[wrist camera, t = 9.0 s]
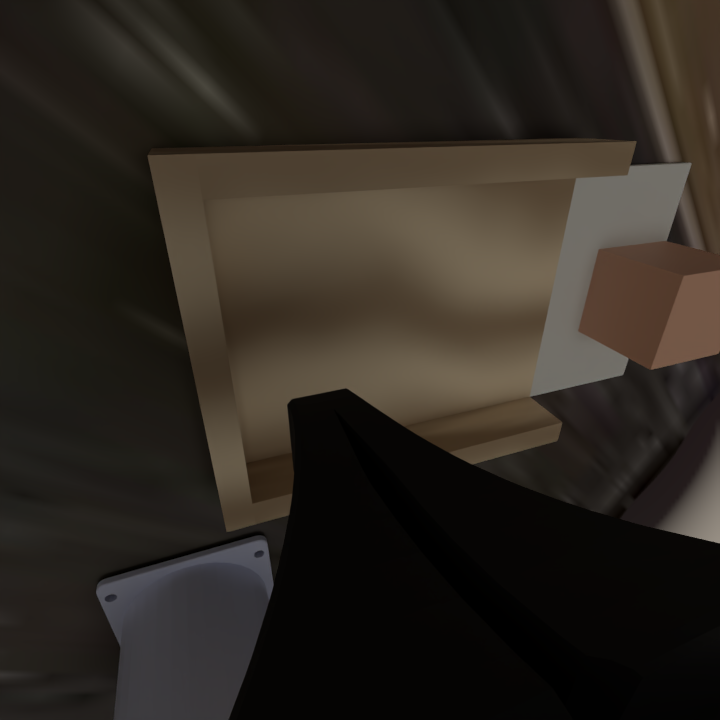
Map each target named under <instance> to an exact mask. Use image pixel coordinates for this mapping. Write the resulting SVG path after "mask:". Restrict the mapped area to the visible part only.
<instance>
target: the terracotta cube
mask: <svg viewBox="0 0 720 720" xmlns="http://www.w3.org/2000/svg"><path fill="white" fill-rule="evenodd" d="M578 331H579V332H580V333H582V334H584V335H586V336H588V337H590V338H592V339H594V340H595V341H597V342H599V343H601V344H603V345H605V346H607V347H609V348H610V349H612V350H614V351H616V352H618V353H620V354H622V355H624V356H625V357H627V358H629V359H631V360H633V361H635V362H637V363H639V364H640V365H642V366H644V367H646V368H648V369H650V370H652V369H656V368H660V367H665V366H669V365H673V364H677V363H681V362H686V361H690V360H694V359H698V358H702V357H707V356H711V355H715V354H718V353H719V351H720V255H718V254H714V253H710V252H706V251H702V250H698V249H695V248H691V247H687V246H683V245H679V244H675V243H671V242H667V241H661V242H653V243H645V244H637V245H628V246H620V247H612V248H604V249H599V250H598V254H597V258H596V262H595V266H594V270H593V274H592V278H591V282H590V286H589V290H588V294H587V298H586V302H585V306H584V310H583V314H582V318H581V321H580V325H579V329H578Z"/></svg>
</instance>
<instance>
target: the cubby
mask: <svg viewBox="0 0 720 720" xmlns="http://www.w3.org/2000/svg"><path fill="white" fill-rule="evenodd" d="M636 142H637V141H622V140H604V139H587V138H557V139H516V140H474V141H433V142H392V143H351V144H309V145H268V146H227V147H186V148H152V149H151V150H150V152H149V154H148V160H149V165H150V170H151V175H152V179H153V184H154V189H155V194H156V198H157V203H158V208H159V213H160V217H161V222H162V227H163V232H164V236H165V241H166V246H167V251H168V255H169V260H170V265H171V270H172V274H173V279H174V284H175V289H176V293H177V298H178V303H179V308H180V312H181V317H182V322H183V327H184V331H185V336H186V341H187V346H188V350H189V355H190V360H191V365H192V369H193V374H194V379H195V384H196V388H197V393H198V398H199V403H200V407H201V412H202V417H203V422H204V426H205V431H206V436H207V441H208V445H209V450H210V455H211V460H212V464H213V469H214V474H215V479H216V483H217V488H218V493H219V498H220V503H221V507H222V512H223V517H224V522H225V526H226V531H227V532H230V531H233V530H237V529H240V528H244V527H248V526H251V525H255V524H258V523H262V522H266V521H269V520H273V519H277V518H280V517H284V516H287V515H289V513H290V506H291V500H292V491H293V480H294V470H293V460H292V450H291V440H290V429H289V419H288V409H287V404H288V403H289V402H290V401H291V400H292V399H294V398H299V397H305V396H310V395H315V394H320V393H325V392H330V391H335V390H340V389H345V388H347V389H348V390H350V391H352V392H353V393H355V394H356V395H358V396H359V397H360V398H362V399H363V400H365V401H366V402H368V403H369V404H371V405H372V406H374V407H375V408H377V409H378V410H380V411H381V412H383V413H384V414H386V415H387V416H389V417H390V418H392V419H393V420H395V421H396V422H398V423H399V424H401V425H402V426H404V427H406V428H407V429H409V430H410V431H412V432H414V433H415V434H417V435H419V436H420V437H422V438H424V439H425V440H427V441H429V442H431V443H432V444H434V445H436V446H438V447H440V448H442V449H443V450H445V451H447V452H449V453H451V454H452V455H454V456H456V457H458V458H460V459H462V460H464V461H466V462H468V463H470V464H475V463H479V462H482V461H486V460H490V459H493V458H497V457H501V456H504V455H508V454H511V453H515V452H519V451H522V450H526V449H529V448H533V447H537V446H540V445H544V444H547V443H551V442H555V441H558V437H559V433H560V430H561V426H562V422H561V421H560V420H559V419H557V418H556V417H555V416H553V415H552V414H551V413H550V412H548V411H547V410H546V409H545V408H543V407H542V406H541V405H539V404H538V403H537V402H536V401H534V400H533V399H532V398H531V397H530V393H531V388H532V383H533V378H534V374H535V369H536V364H537V360H538V355H539V350H540V346H541V341H542V336H543V332H544V327H545V322H546V318H547V313H548V308H549V304H550V299H551V294H552V289H553V285H554V280H555V275H556V271H557V266H558V261H559V257H560V252H561V247H562V243H563V238H564V233H565V229H566V224H567V219H568V214H569V210H570V205H571V200H572V196H573V191H574V186H575V182H576V178H590V177H607V176H624V175H628V172H629V168H630V164H631V161H632V157H633V153H634V149H635V145H636Z"/></svg>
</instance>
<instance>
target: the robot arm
mask: <svg viewBox="0 0 720 720" xmlns="http://www.w3.org/2000/svg"><path fill="white" fill-rule="evenodd" d="M287 409H288V419H289V429H290V440H291V450H292V460H293V470H294V480H293V491H292V500H291V506H290V513H289V519H288V524H287V530H286V535H285V540H284V545H283V549H282V553H281V557H280V562H279V566H278V570H277V574H276V578H275V582H274V584H273V577H272V570H271V564H270V557H269V550H268V544H267V540H266V537H264V536H261V535H257V536H253V537H250V538H246V539H243V540H239V541H236V542H232V543H229V544H225V545H221V546H218V547H214V548H211V549H207V550H204V551H200V552H197V553H193V554H190V555H186V556H183V557H179V558H176V559H172V560H169V561H165V562H162V563H158V564H155V565H151V566H148V567H144V568H141V569H137V570H134V571H130V572H127V573H123V574H120V575H116V576H113V577H109V578H106V579H103V580H101V581H100V582H99V583H98V585H97V588H96V595H97V597H98V599H99V601H100V603H101V606H102V608H103V610H104V612H105V614H106V617H107V619H108V621H109V623H110V625H111V628H112V630H113V632H114V634H115V636H116V639H117V641H118V643H119V645H120V647H121V648H120V658H119V669H118V679H117V689H116V700H115V710H114V720H720V543H715V542H711V541H706V540H702V539H698V538H694V537H689V536H685V535H681V534H677V533H672V532H668V531H664V530H659V529H655V528H651V527H646V526H643V525H639V524H635V523H631V522H628V521H625V520H621V519H618V518H614V517H611V516H608V515H604V514H601V513H597V512H594V511H590V510H587V509H584V508H581V507H578V506H575V505H572V504H569V503H566V502H563V501H560V500H557V499H555V498H552V497H549V496H546V495H544V494H541V493H538V492H536V491H533V490H530V489H528V488H525V487H522V486H520V485H517V484H515V483H512V482H510V481H508V480H505V479H503V478H501V477H498V476H496V475H494V474H492V473H490V472H487V471H485V470H483V469H481V468H479V467H476V466H474V465H472V464H470V463H468V462H466V461H464V460H462V459H460V458H458V457H456V456H454V455H452V454H451V453H449V452H447V451H445V450H443V449H442V448H440V447H438V446H436V445H434V444H432V443H431V442H429V441H427V440H425V439H424V438H422V437H420V436H419V435H417V434H415V433H414V432H412V431H410V430H409V429H407V428H406V427H404V426H402V425H401V424H399V423H398V422H396V421H395V420H393V419H392V418H390V417H389V416H387V415H386V414H384V413H383V412H381V411H380V410H378V409H377V408H375V407H374V406H372V405H371V404H369V403H368V402H366V401H365V400H363V399H362V398H360V397H359V396H358V395H356V394H355V393H353V392H352V391H350V390H348V389H347V388H345V389H340V390H335V391H330V392H325V393H320V394H315V395H310V396H305V397H299V398H294V399H292V400H291V401H290V402H289V403H288V404H287ZM260 550H261V551H260ZM257 551H258V552H257ZM111 594H113V595H111Z"/></svg>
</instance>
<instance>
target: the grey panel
mask: <svg viewBox="0 0 720 720" xmlns="http://www.w3.org/2000/svg"><path fill="white" fill-rule="evenodd" d="M691 164H692V163H686V162H680V163H660V164H639V165H630V168H629V172H628V175H624V176H607V177H590V178H576V182H575V186H574V191H573V196H572V200H571V205H570V210H569V214H568V219H567V224H566V229H565V233H564V238H563V243H562V247H561V252H560V257H559V261H558V266H557V271H556V275H555V280H554V285H553V289H552V294H551V299H550V304H549V308H548V313H547V318H546V322H545V327H544V332H543V336H542V341H541V346H540V350H539V355H538V360H537V364H536V369H535V374H534V378H533V383H532V388H531V393H530V397H531V396H535V395H539V394H543V393H548V392H552V391H556V390H560V389H565V388H569V387H573V386H577V385H582V384H586V383H590V382H595V381H599V380H603V379H607V378H612V377H616V376H620V375H623V374H624V371H625V368H626V365H627V361H628V358H627V357H625V356H624V355H622V354H620V353H618V352H616V351H614V350H612V349H610V348H609V347H607V346H605V345H603V344H601V343H599V342H597V341H595V340H594V339H592V338H590V337H588V336H586V335H584V334H582V333H580V332H579V331H578V329H579V325H580V321H581V318H582V314H583V310H584V306H585V302H586V298H587V294H588V290H589V286H590V282H591V278H592V274H593V270H594V266H595V262H596V258H597V254H598V250H599V249H604V248H612V247H620V246H628V245H637V244H645V243H653V242H661V241H667V238H668V235H669V232H670V229H671V226H672V223H673V219H674V216H675V213H676V210H677V207H678V204H679V201H680V198H681V195H682V192H683V189H684V186H685V182H686V179H687V176H688V173H689V170H690V167H691Z"/></svg>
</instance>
